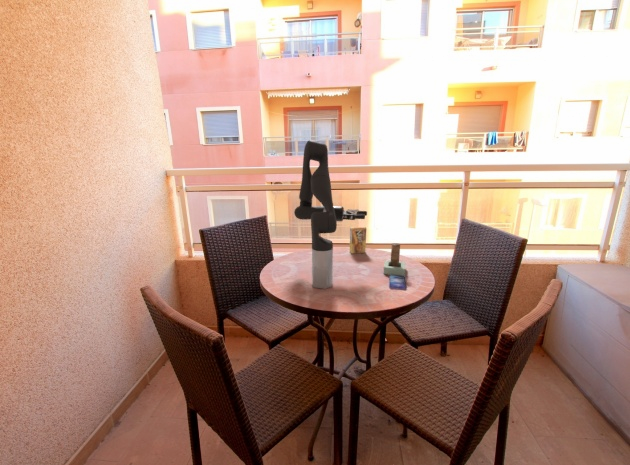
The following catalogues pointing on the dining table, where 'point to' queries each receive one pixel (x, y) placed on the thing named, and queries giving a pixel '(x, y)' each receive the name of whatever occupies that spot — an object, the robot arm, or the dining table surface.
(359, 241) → the candy box
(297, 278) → the dining table surface
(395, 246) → the dowel
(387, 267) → the square frame
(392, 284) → the smartphone
